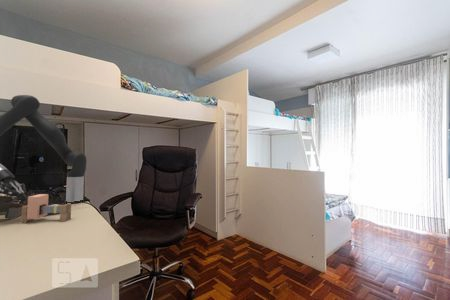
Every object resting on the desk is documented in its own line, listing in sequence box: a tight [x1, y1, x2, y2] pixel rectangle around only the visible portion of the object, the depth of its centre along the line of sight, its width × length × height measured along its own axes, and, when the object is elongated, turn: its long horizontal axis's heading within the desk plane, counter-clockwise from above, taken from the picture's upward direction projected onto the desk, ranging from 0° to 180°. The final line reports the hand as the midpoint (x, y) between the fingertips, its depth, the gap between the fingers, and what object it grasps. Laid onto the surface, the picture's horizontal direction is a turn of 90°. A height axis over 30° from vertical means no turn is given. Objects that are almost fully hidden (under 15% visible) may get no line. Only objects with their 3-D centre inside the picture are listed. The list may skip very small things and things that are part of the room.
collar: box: [27, 193, 49, 220], centre depth 99 cm, size 7×4×10 cm, turn 9°
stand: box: [20, 203, 72, 224], centre depth 99 cm, size 5×18×8 cm, turn 99°
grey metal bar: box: [39, 204, 62, 213], centre depth 99 cm, size 3×16×3 cm, turn 99°
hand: (26, 200), depth 98 cm, fingers closed
